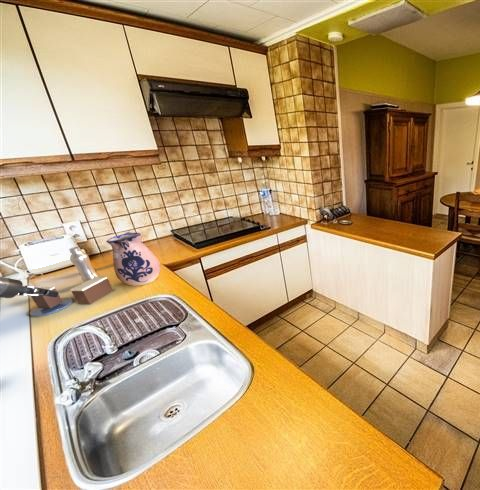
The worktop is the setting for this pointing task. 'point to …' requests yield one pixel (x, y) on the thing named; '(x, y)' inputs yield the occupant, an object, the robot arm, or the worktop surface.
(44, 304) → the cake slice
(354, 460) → the worktop surface
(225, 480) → the worktop surface
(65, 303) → the plate
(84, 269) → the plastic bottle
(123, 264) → the ceramic pitcher
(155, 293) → the worktop surface
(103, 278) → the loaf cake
